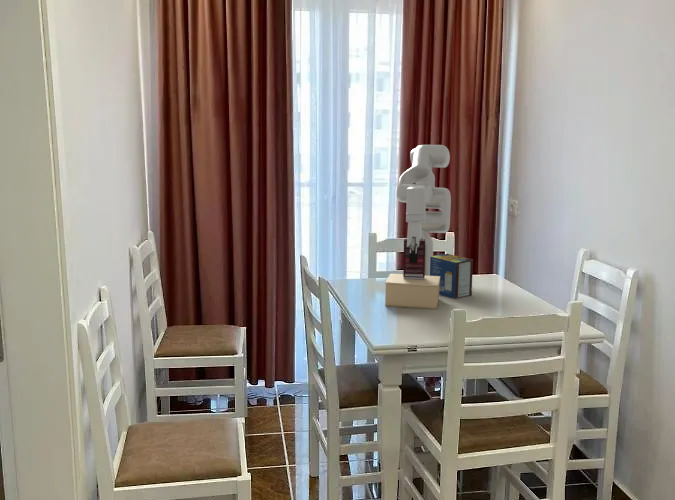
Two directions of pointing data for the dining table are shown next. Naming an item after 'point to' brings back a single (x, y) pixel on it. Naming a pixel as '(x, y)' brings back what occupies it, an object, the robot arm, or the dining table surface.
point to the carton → (412, 296)
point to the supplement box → (414, 268)
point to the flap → (413, 280)
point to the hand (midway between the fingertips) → (414, 260)
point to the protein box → (452, 274)
